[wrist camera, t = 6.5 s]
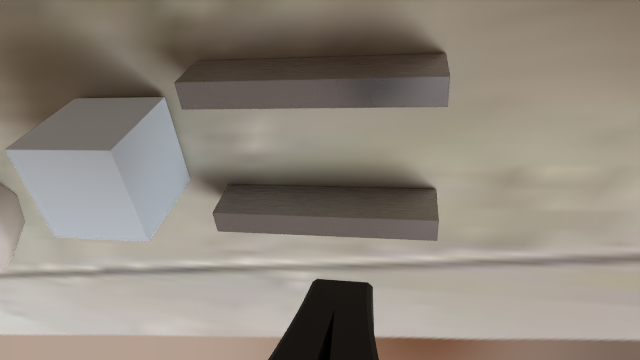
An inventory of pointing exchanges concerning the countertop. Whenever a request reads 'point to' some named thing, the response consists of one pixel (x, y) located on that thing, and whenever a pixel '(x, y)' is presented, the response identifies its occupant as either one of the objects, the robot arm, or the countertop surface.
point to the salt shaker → (9, 225)
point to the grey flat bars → (322, 92)
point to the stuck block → (103, 168)
